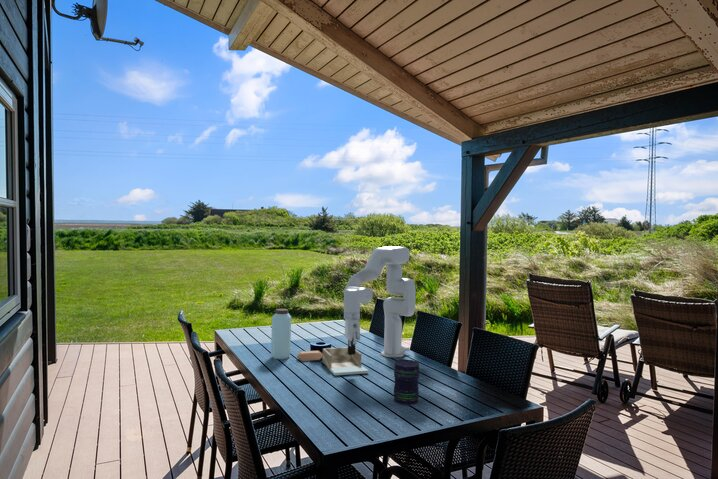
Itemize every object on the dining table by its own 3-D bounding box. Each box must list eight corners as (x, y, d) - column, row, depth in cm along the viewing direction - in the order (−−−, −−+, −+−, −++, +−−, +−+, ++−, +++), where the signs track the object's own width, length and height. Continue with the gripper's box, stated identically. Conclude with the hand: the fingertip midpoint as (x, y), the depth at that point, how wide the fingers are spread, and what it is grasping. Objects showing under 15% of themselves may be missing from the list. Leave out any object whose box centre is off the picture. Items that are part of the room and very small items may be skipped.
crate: (352, 360, 232) (352, 346, 232) (361, 368, 219) (361, 353, 219) (322, 362, 227) (322, 348, 227) (329, 370, 214) (329, 355, 214)
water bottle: (266, 358, 232) (268, 309, 232) (278, 353, 241) (280, 307, 241) (282, 361, 228) (283, 311, 228) (294, 356, 237) (295, 309, 236)
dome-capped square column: (321, 357, 236) (321, 350, 236) (323, 359, 232) (323, 352, 232) (296, 359, 232) (296, 351, 232) (297, 361, 228) (297, 353, 228)
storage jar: (402, 394, 183) (403, 350, 183) (423, 400, 177) (424, 355, 177) (388, 400, 176) (389, 355, 176) (409, 407, 169) (410, 359, 169)
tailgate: (362, 365, 218) (368, 370, 210) (362, 368, 218) (368, 373, 210) (329, 367, 213) (334, 372, 204) (329, 370, 213) (334, 375, 204)
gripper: (364, 318, 204) (364, 358, 204) (354, 311, 218) (354, 349, 218) (348, 319, 201) (348, 359, 202) (339, 312, 215) (339, 350, 216)
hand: (351, 354), depth 210 cm, fingers closed
